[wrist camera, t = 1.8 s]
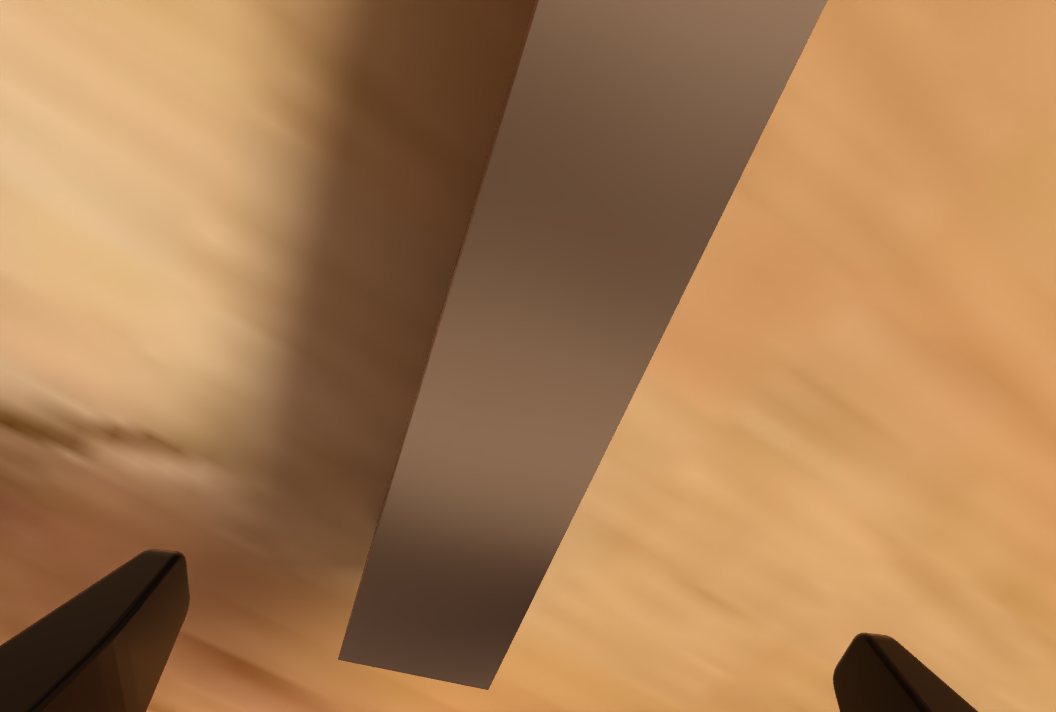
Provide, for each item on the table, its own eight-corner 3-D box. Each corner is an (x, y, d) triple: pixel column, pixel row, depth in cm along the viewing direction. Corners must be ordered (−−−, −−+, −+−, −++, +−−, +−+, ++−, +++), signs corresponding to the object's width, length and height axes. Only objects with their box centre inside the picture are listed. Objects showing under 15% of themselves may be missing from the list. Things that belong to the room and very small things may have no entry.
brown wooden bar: (494, 546, 15) (488, 689, 11) (378, 518, 14) (337, 660, 11) (988, -607, 7) (1405, -1173, 4) (762, -751, 6) (1011, -1547, 3)
